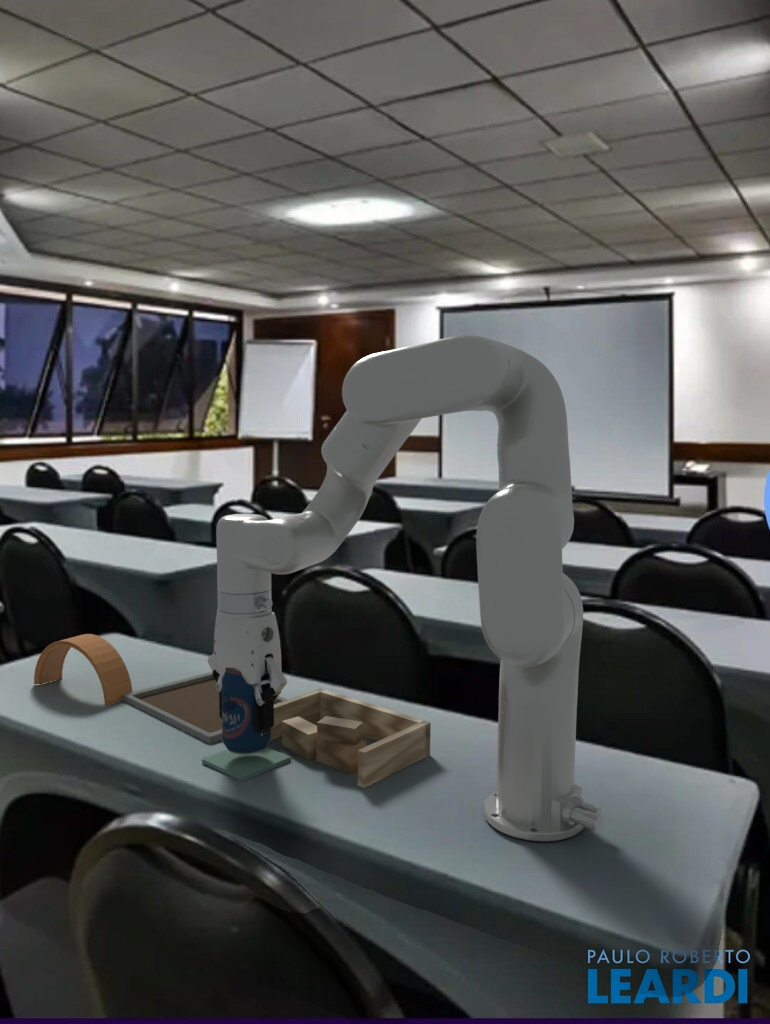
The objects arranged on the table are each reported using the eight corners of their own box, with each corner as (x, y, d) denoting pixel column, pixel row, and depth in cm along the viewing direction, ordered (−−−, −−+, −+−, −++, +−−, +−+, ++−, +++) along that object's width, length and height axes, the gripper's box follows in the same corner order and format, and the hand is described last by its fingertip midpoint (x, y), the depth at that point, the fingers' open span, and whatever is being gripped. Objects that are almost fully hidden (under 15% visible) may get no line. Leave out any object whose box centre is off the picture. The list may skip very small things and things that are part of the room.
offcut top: (363, 738, 119) (363, 722, 119) (355, 745, 116) (355, 728, 116) (325, 731, 121) (325, 716, 121) (317, 738, 119) (317, 722, 118)
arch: (106, 706, 142) (104, 650, 141) (33, 686, 153) (31, 633, 152) (133, 697, 147) (131, 642, 146) (60, 677, 158) (58, 626, 156)
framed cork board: (214, 670, 159) (316, 710, 138) (214, 678, 159) (316, 719, 138) (121, 694, 145) (219, 742, 124) (122, 703, 145) (219, 752, 124)
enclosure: (430, 754, 123) (430, 722, 122) (364, 788, 112) (364, 752, 111) (320, 717, 137) (320, 688, 137) (252, 743, 126) (252, 712, 126)
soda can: (212, 750, 118) (210, 669, 117) (243, 734, 124) (242, 656, 123) (250, 760, 115) (249, 676, 113) (280, 743, 121) (279, 663, 119)
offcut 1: (325, 755, 122) (325, 729, 122) (308, 760, 121) (308, 734, 120) (298, 741, 128) (298, 716, 127) (282, 746, 126) (281, 720, 125)
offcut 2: (365, 768, 118) (365, 741, 118) (351, 775, 116) (351, 747, 115) (330, 755, 123) (330, 729, 122) (315, 761, 120) (315, 735, 120)
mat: (290, 760, 120) (290, 756, 120) (242, 781, 113) (242, 777, 113) (250, 744, 126) (250, 740, 126) (202, 763, 119) (202, 759, 119)
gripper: (306, 606, 114) (307, 730, 116) (226, 588, 125) (228, 702, 127) (265, 616, 108) (266, 746, 111) (185, 596, 120) (188, 715, 122)
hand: (246, 721), depth 119 cm, fingers closed on soda can, 7 cm apart
